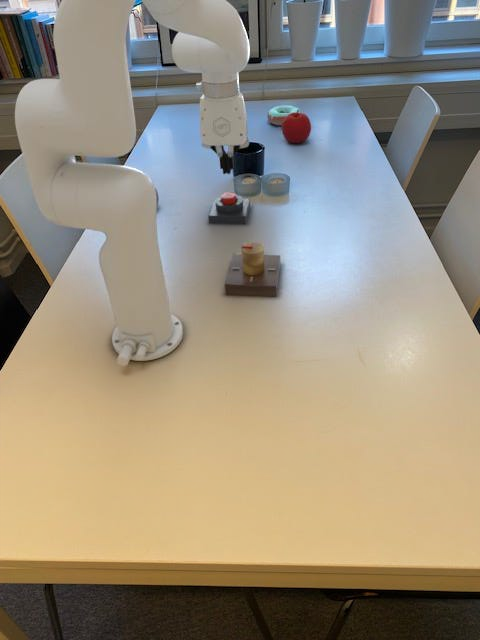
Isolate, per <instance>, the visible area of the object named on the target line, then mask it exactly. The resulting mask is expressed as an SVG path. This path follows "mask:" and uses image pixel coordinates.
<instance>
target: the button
mask: <svg viewBox="0 0 480 640" xmlns="http://www.w3.org/2000/svg"><path fill="white" fill-rule="evenodd" d="M236 195H237V194H236V193H235V192H234V191H227V192H223V193H222V194H221V195H220V196H221V198H222V203H223V204H234V203H236V202H237V201H236Z"/></svg>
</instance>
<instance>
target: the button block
mask: <svg viewBox="0 0 480 640" xmlns="http://www.w3.org/2000/svg"><path fill="white" fill-rule="evenodd" d="M236 201H237V202H236V203H234V204H223V203H222V198H221V195H220V196H218V197H217V198H214V200H213V202H212V204H211V208H210V210H209V212H208V224H211V225H212V224H213V225H246V224H247V221H248V217H249V213H250V211H251V199H250V198H242V196H241V195H237V194H236Z"/></svg>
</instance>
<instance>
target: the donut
mask: <svg viewBox="0 0 480 640" xmlns="http://www.w3.org/2000/svg"><path fill="white" fill-rule="evenodd" d="M297 110H299V111H298V113H302V112H301V110H300V109H299V108H298V107H297V106H292V105H280V106H274V107H273V108H271V109H270V110H269V111H268V112H267V116H266V117H267V120H268V122H269V123H271V124H272V125H274V126H280V127H282V123H283V120H284V119H285V117H286V116H287V115H289V114H290V113H297Z"/></svg>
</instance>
